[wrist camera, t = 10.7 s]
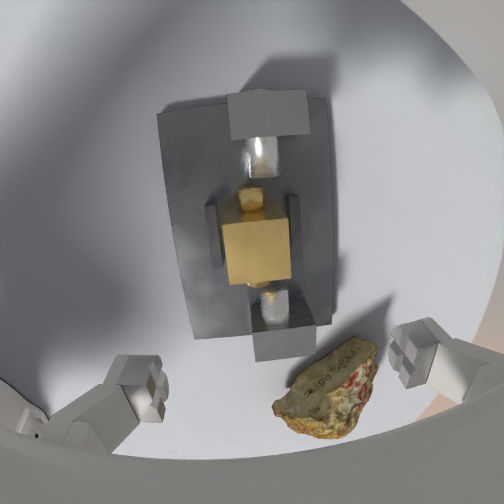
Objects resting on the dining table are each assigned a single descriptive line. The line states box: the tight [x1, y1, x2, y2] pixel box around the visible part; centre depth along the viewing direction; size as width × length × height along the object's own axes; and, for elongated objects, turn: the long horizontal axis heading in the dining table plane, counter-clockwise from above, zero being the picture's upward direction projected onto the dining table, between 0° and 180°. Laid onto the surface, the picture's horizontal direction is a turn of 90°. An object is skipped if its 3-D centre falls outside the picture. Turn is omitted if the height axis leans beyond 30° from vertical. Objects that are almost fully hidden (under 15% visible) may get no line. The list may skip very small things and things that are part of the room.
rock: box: [272, 336, 378, 439], centre depth 29 cm, size 12×9×10 cm
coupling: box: [222, 186, 291, 288], centre depth 21 cm, size 7×4×6 cm, turn 5°
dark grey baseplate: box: [157, 88, 333, 362], centre depth 23 cm, size 21×13×5 cm, turn 5°
